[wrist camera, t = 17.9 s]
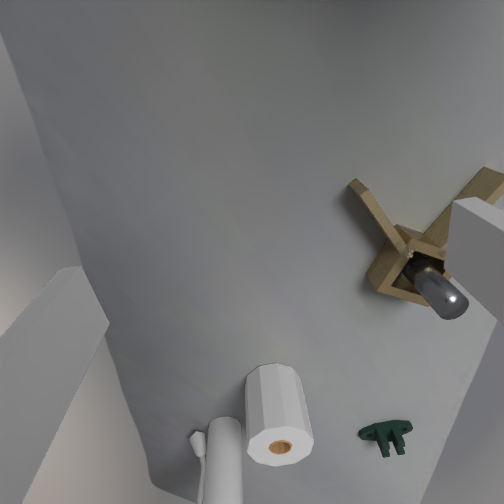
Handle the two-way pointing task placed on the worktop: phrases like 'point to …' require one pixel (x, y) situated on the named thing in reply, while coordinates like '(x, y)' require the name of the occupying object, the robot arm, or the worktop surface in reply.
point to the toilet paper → (276, 416)
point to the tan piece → (418, 237)
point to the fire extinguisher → (220, 462)
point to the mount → (387, 435)
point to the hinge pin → (435, 288)
